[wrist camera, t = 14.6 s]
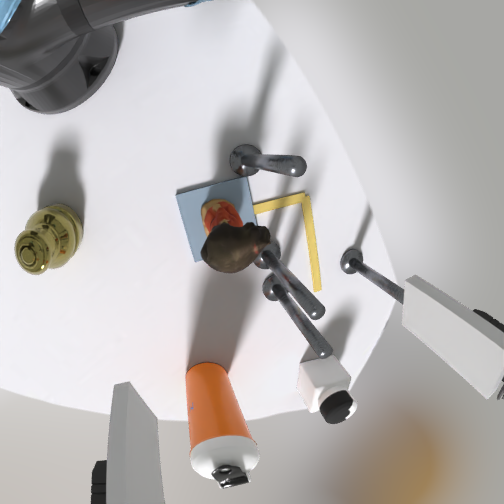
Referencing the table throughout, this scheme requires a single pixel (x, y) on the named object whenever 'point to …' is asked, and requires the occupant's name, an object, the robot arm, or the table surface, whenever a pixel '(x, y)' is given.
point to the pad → (195, 199)
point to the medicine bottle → (326, 389)
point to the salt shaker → (48, 239)
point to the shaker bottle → (218, 428)
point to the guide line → (308, 226)
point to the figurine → (230, 237)
